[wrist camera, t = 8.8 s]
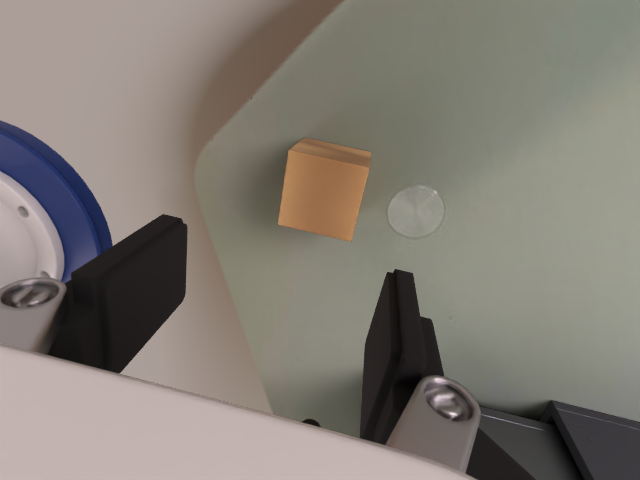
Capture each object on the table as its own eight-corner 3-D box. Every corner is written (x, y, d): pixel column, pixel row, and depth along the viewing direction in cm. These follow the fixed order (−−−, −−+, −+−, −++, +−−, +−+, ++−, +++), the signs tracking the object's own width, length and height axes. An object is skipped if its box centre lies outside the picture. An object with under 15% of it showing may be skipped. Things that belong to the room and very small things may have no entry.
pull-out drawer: (294, 445, 34) (272, 542, 27) (316, 354, 29) (295, 443, 22) (511, 504, 33) (547, 620, 26) (571, 419, 28) (636, 534, 21)
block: (293, 201, 25) (277, 224, 21) (303, 137, 23) (288, 149, 19) (355, 215, 25) (351, 242, 21) (371, 151, 23) (369, 167, 19)
